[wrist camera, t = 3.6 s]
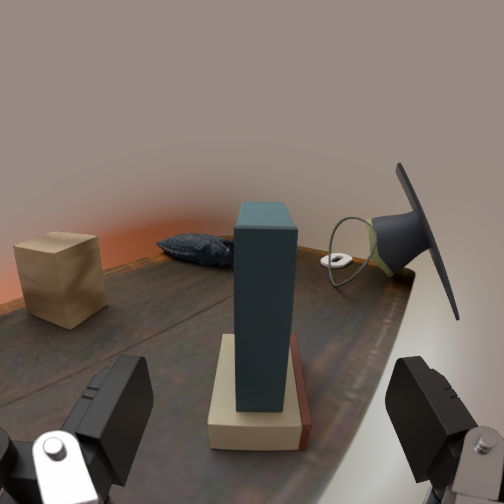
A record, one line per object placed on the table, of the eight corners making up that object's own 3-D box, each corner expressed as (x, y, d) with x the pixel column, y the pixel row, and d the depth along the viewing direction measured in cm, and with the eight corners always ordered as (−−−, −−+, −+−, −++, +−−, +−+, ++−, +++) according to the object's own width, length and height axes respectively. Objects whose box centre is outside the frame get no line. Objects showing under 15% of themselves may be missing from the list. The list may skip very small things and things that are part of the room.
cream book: (306, 449, 20) (312, 424, 19) (210, 448, 20) (206, 423, 19) (292, 358, 31) (295, 333, 30) (223, 357, 31) (223, 332, 30)
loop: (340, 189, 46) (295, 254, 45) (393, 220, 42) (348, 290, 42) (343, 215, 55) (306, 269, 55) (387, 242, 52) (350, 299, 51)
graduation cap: (394, 347, 41) (461, 322, 36) (329, 196, 40) (400, 161, 35) (395, 283, 65) (437, 265, 60) (352, 186, 64) (395, 166, 60)
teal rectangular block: (235, 412, 20) (233, 227, 16) (241, 342, 29) (242, 201, 25) (282, 412, 20) (298, 229, 16) (276, 343, 29) (283, 202, 25)
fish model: (222, 275, 53) (221, 246, 51) (147, 251, 65) (146, 228, 63) (246, 265, 58) (247, 238, 57) (171, 245, 70) (171, 223, 68)
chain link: (339, 267, 56) (316, 261, 59) (339, 270, 56) (316, 264, 59) (355, 256, 62) (334, 251, 65) (355, 259, 62) (334, 254, 65)
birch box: (70, 330, 34) (54, 253, 31) (27, 312, 36) (13, 245, 33) (107, 304, 41) (98, 235, 38) (63, 292, 44) (53, 231, 41)
